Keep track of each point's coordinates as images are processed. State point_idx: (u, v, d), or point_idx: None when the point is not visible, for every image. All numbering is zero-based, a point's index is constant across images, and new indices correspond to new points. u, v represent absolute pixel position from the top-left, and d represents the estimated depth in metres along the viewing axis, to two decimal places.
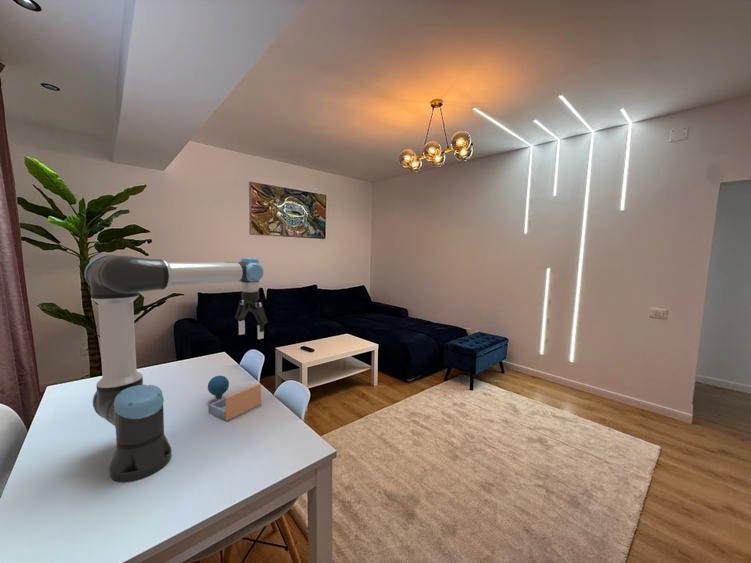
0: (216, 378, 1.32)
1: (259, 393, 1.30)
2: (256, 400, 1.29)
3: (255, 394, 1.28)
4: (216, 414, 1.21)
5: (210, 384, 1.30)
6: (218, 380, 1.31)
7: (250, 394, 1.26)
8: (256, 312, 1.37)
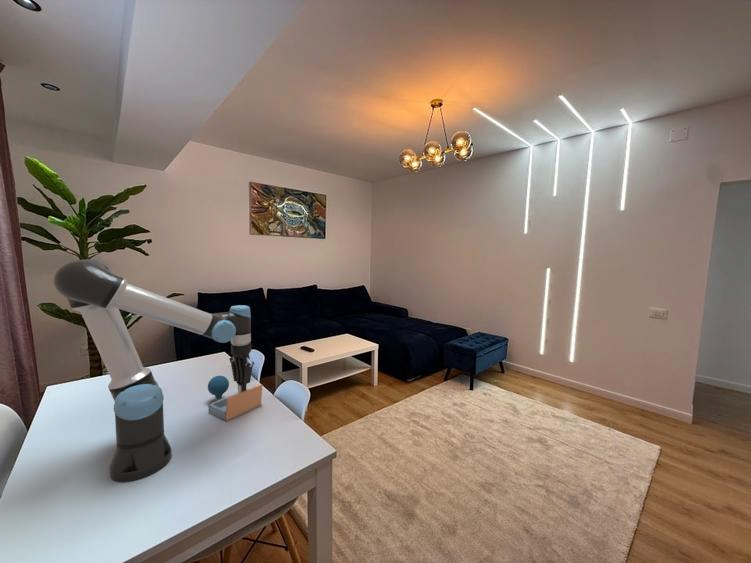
0: (216, 378, 1.32)
1: (260, 393, 1.30)
2: (256, 400, 1.29)
3: (256, 394, 1.28)
4: (216, 414, 1.21)
5: (210, 384, 1.30)
6: (218, 380, 1.31)
7: (251, 395, 1.26)
8: (243, 370, 1.23)
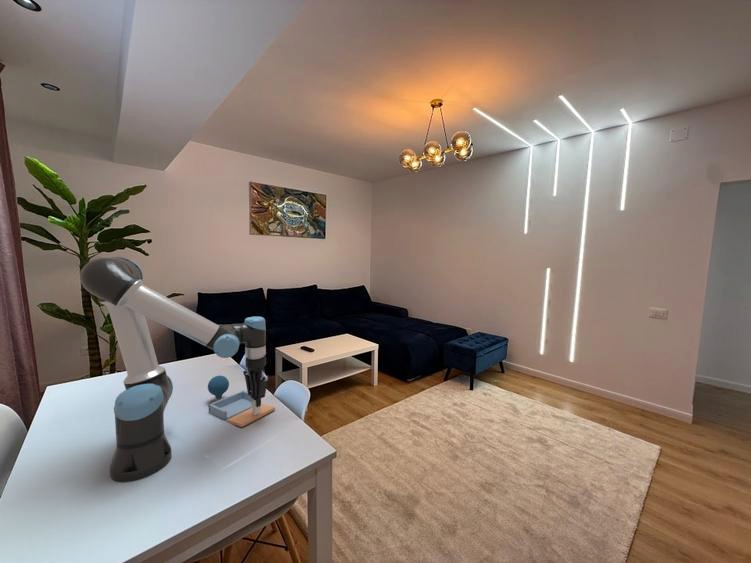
0: (216, 378, 1.32)
1: None
2: None
3: None
4: (216, 414, 1.21)
5: (210, 384, 1.30)
6: (218, 380, 1.31)
7: None
8: (258, 384, 1.18)
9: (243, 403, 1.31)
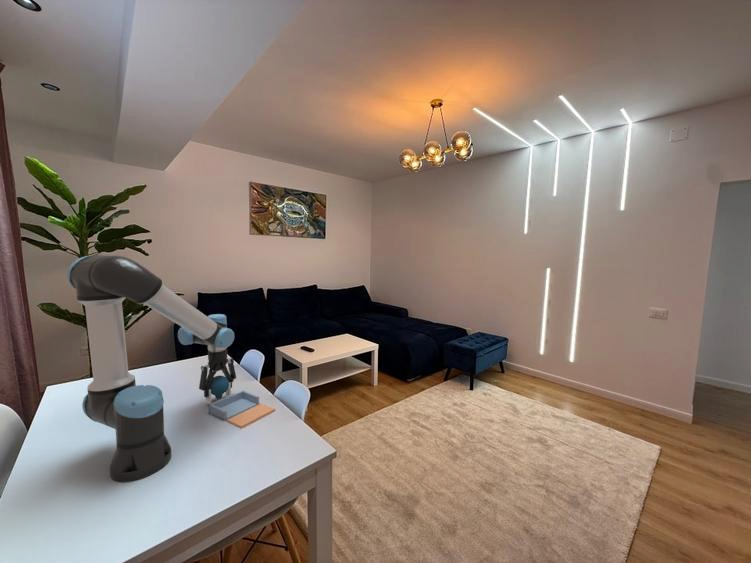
0: (216, 378, 1.32)
1: None
2: None
3: None
4: (216, 414, 1.21)
5: None
6: (218, 380, 1.31)
7: None
8: (209, 374, 1.30)
9: (243, 403, 1.31)
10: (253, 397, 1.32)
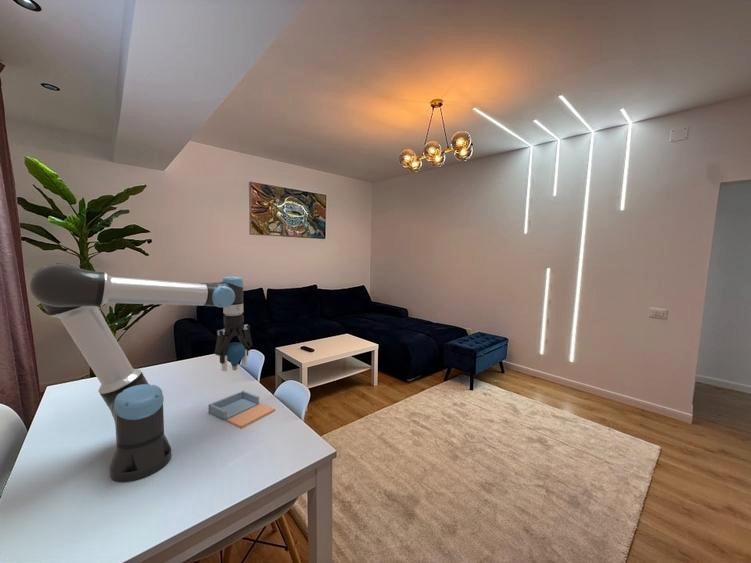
0: (232, 344, 1.24)
1: None
2: None
3: None
4: (216, 414, 1.21)
5: None
6: (234, 345, 1.24)
7: None
8: (225, 339, 1.23)
9: (243, 403, 1.31)
10: (253, 397, 1.32)
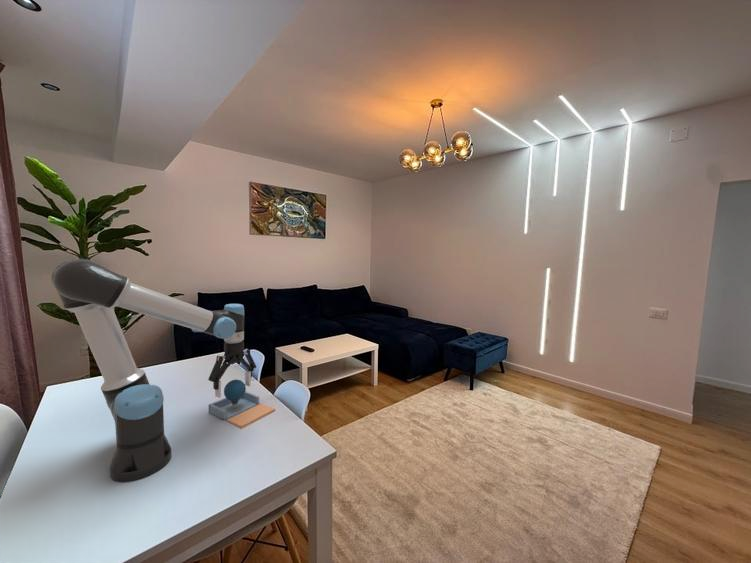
0: (233, 382, 1.25)
1: None
2: None
3: None
4: (216, 414, 1.21)
5: (227, 389, 1.23)
6: (235, 384, 1.24)
7: None
8: (222, 366, 1.22)
9: (243, 403, 1.31)
10: (253, 397, 1.32)
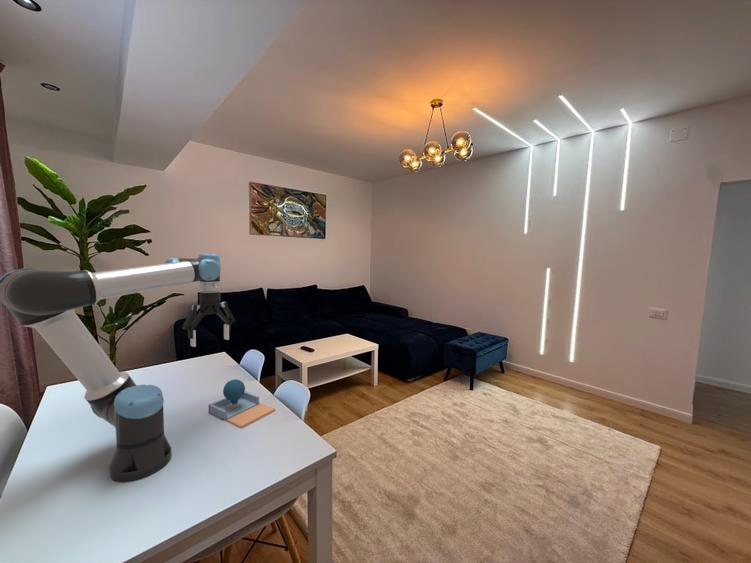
0: (232, 382, 1.25)
1: None
2: None
3: None
4: (216, 414, 1.21)
5: (226, 388, 1.24)
6: (234, 384, 1.25)
7: None
8: (198, 315, 1.20)
9: (243, 403, 1.31)
10: (253, 397, 1.32)
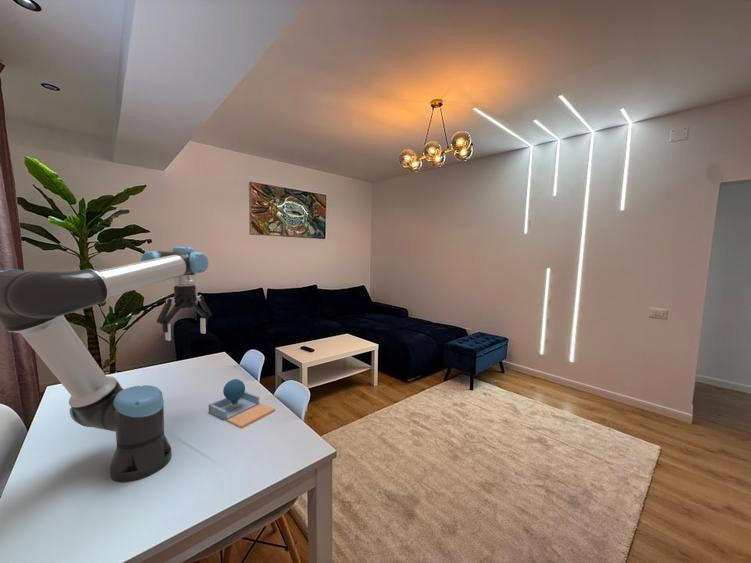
0: (232, 382, 1.25)
1: None
2: None
3: None
4: (216, 414, 1.21)
5: (226, 388, 1.24)
6: (234, 383, 1.25)
7: None
8: (172, 309, 1.19)
9: (243, 403, 1.31)
10: (253, 397, 1.32)
